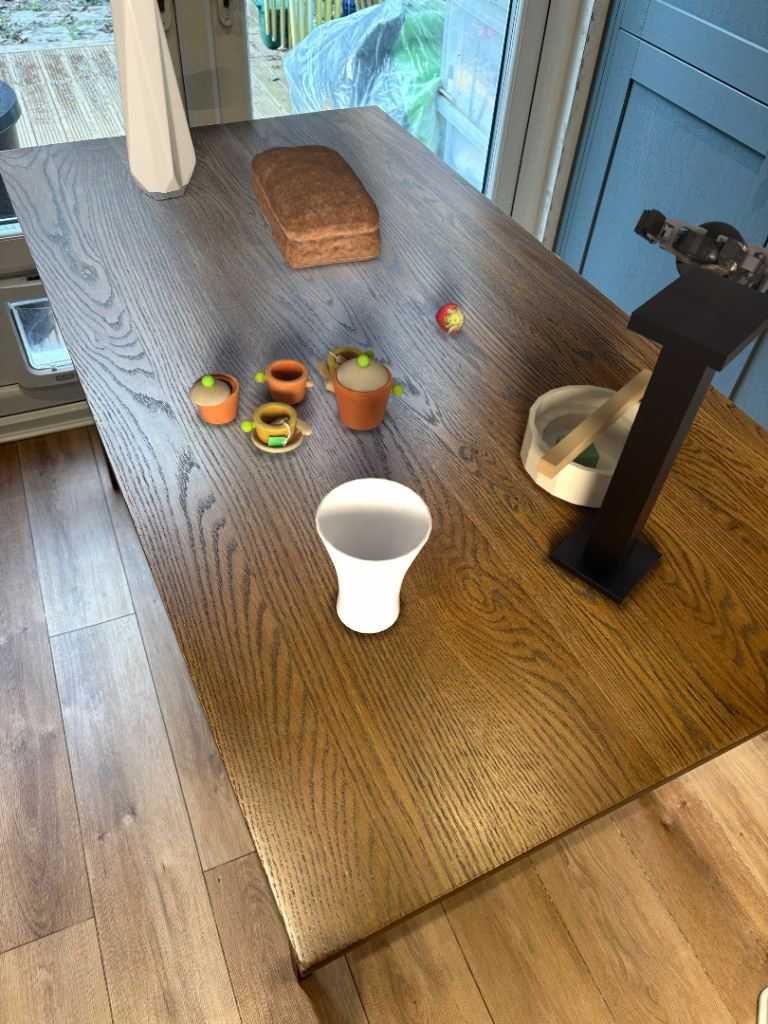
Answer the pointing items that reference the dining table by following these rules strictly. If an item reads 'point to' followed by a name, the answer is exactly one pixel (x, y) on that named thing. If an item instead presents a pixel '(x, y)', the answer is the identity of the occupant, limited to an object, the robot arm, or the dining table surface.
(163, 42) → the vase
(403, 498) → the cup
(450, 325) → the fruit
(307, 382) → the toy tea set
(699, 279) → the stand
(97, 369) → the dining table surface
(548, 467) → the rectangular bar
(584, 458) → the block
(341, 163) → the bread
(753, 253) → the robot arm
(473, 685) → the dining table surface
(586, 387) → the bowl
